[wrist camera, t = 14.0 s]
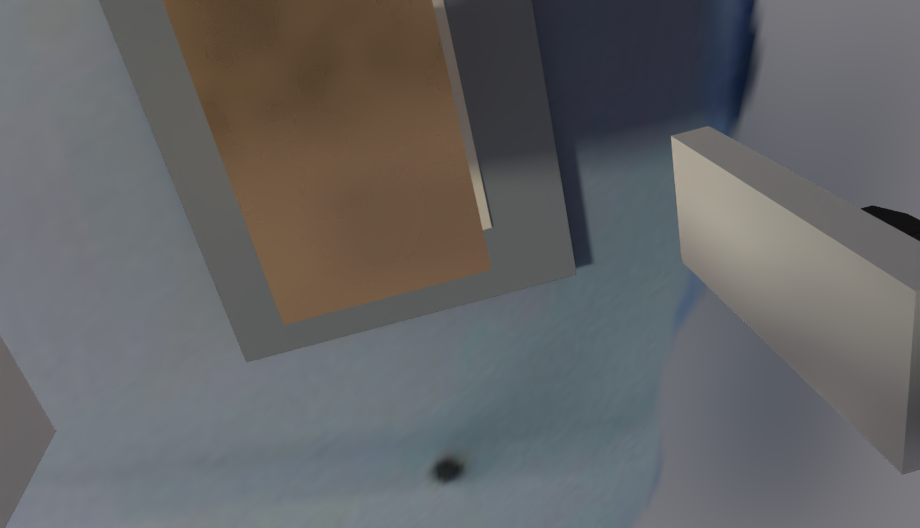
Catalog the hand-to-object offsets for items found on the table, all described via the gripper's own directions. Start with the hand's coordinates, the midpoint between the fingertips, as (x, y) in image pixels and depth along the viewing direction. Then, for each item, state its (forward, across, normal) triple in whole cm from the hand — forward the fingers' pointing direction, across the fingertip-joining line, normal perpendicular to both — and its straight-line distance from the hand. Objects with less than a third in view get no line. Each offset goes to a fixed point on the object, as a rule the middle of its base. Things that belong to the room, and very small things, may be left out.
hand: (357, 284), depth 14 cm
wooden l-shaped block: (+18, 0, 0) cm, 18 cm away
